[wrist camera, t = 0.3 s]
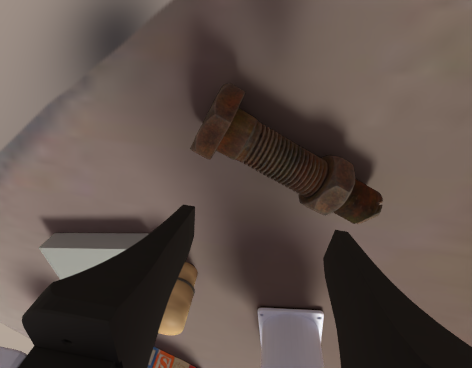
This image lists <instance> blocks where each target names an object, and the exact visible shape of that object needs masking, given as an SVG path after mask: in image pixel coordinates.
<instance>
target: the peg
mask: <svg viewBox="0 0 472 368" xmlns="http://www.w3.org/2000/svg"><path fill="white" fill-rule="evenodd" d="M196 278H197V270H196V268H195V267H194V266H193V265H191V264H190V263H187V262H185V263H184V265H183V268H182V270H181V272H180V274H179V277H178V279H177V281H176V283H175V286H174V288H173V290H172V293H171V295H170V298H169V300H168V303H167V306H166V309H165V312H164V315H163V318H162V322H161V325H160V328H159V331H158V333H160V334H164V335H177V334H180V333H181V332H182V331H183V329H184V325H185V322H186V319H187V315H188V312H189V308H190V305H191V302H192V298H193V296H194V292H195V290H194V284H195V281H196Z"/></svg>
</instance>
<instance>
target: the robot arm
mask: <svg viewBox="0 0 472 368" xmlns="http://www.w3.org/2000/svg"><path fill="white" fill-rule="evenodd" d="M194 221H195V207H194V206H188V205H182V206H181V207H180V208H179V209H178V210H177V211H176V212H175V213H173V214H172V215H171V216H170V217H169V218H168V219H167V220H166V221H164V222H163V223H162V224H161V225H160V226H159V227H157V228H156V229H155V230H154V231H152V232H151V233H150V234H148V235H147V236H146V237H144V238H143V239H141V240H140V241H139V242H137V243H136V244H134V245H133V246H131V247H129V248H128V249H126V250H125V251H123V252H121V253H119V254H117V255H116V256H114V257H112V258H110V259H108V260H106V261H104V262H102V263H100V264H98V265H96V266H94V267H91V268H89V269H87V270H84V271H82V272H80V273H77V274H74V275H72V276H69V277H66V278H64V279H61V280H58V281H55V282H53V283H51V284H50V285H49V286H48V287H47V288H46V290H45V291H44V292H43V293H42V294H41V295H40V296H39V297H38V299H37V300H36V301H35V302H34V303H33V304H32V306H31V307H30V308H29V309H28V310H27V311H26V312H25V314H24V315H23V317H22V323H23V326H24V329H25V330H26V332H27V334H28V335H29V337H30V339H31V341H32V342H33V344H34V347H33V349H32V350H31V351H30V352H29V354H28V355H26V354H25V353H23V352H21V351H18V350H14V349H9V348H4V347H0V368H147V367H148V364H149V360H150V357H151V354H152V351H153V347H154V344H155V341H156V337H157V334H158V331H159V328H160V325H161V322H162V318H163V315H164V312H165V309H166V306H167V303H168V300H169V298H170V295H171V293H172V290H173V288H174V286H175V283H176V281H177V279H178V277H179V274H180V272H181V270H182V268H183V265H184V263H185V261H186V259H187V256H188V254H189V251H190V248H191V245H192V241H193V238H194ZM323 260H324V271H325V279H326V283H327V288H328V292H329V297H330V301H331V305H332V309H333V314H334V318H335V323H336V328H337V335H338V342H339V350H340V359H341V368H472V347H471V346H469V345H468V344H466V343H465V342H464V341H462V340H461V339H459V338H458V337H457V336H455V335H454V334H452V333H451V332H450V331H448V330H447V329H446V328H444V327H443V326H442V325H440V324H439V323H438V322H436V321H435V320H434V319H433V318H431V317H430V316H429V315H428V314H426V313H425V312H424V311H423V310H422V309H420V308H419V307H418V306H417V305H416V304H414V303H413V302H412V301H411V300H410V299H409V298H408V297H407V296H406V295H405V294H403V293H402V292H401V291H400V290H399V289H398V288H397V287H396V286H395V285H394V284H393V283H392V282H391V281H390V280H389V279H388V278H387V277H386V276H385V275H384V274H383V273H382V272H381V270H380V269H379V268H378V267H377V266H376V265H375V264H374V263H373V261H372V260H371V259H370V258H369V257H368V256H367V255H366V253H365V252H364V251H363V250H362V249H361V247H360V246H359V245H358V244H357V243H356V241H355V240H354V239H353V238H352V237H351V235H350V234H349V233H348V232H345V231H339V230H335V232H334V234H333V236H332V239H331V241H330V244H329V246H328V248H327V251H326V253H325V256H324V258H323ZM323 319H324V313H323V312H322V311H320V310H301V309H281V308H258V321H259V330H260V340H261V368H324V362H323V355H322V349H321V336H322V328H323Z"/></svg>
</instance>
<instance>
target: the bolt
mask: <svg viewBox="0 0 472 368" xmlns="http://www.w3.org/2000/svg"><path fill="white" fill-rule="evenodd" d="M244 95H245V92H244V91H243V90H241V89H239V88H238V87H236V86H234V85H233V84H231V83H230V84H225V85H223V87H222V88H221V90H220V91H219V93H218V95H217V97H216V99H215V101H214V103H213V104H212V106H211V108H210V110H209V112H208V114H207V116H206V118H205V120H204V122H203V124H202V126H201V128H200V129H199V131H198V133H197V135H196V138H195V140H194V142H193V144H192V146H191V148H190V150H192V151H194V152H196V153H198V154H199V155H201V156H203V157H205V158H207V159H211V158H212V156H213V154H214V152H215V151H218V152H220V153H222V154H224V155H226V156H228V157H230V158H232V159H234V160H238V161H240V162H242V163H243V162H244V164H245V165H246V164H248V166H249V167H251V166H252V168H253V169H255V168H256V171H260V173H263V174H264V175H267V177H271V179H274V180H275V181H278V183H281V184H282V185H285V186H286V187H289V189H292V190H293V191H296V192H297V193H299V200H300V203H301V204H303V205H305V206H306V207H308V208H310V209H312V210H314V211H316V212H318V213H320V214H323V215H325V216H326V215H328V214H331V213H333V212H334V213H335V214H337V215H339V216H341V217H343V218H344V219H347V220H348V221H350V222H352V223H353V224H355V223H357V224H360V223H363V222H365V221H367V220H370V219H372V218H374V217H376V216H378V215H379V214H380V212H381V209H382V205H379V204H380V203H382V202H383V199H382V196H381V194H380V193H379V192H377V191H376V190H374V189H372V188H370V187H368V186H367V185H366V184H363V183H362V182H360V181H358V180H356V179H355V171H354V166H353V164H351V163H350V162H348V161H346V160H345V159H343V158H341V157H337V156H331V155H328V156H324V157H322V158H319V157H318V156H316V155H315V154H313V153H311V152H309V151H307V150H306V149H304V148H303V147H300V146H299V145H297V144H296V143H293V142H292V141H291V140H290V141H289V139H287V138H285V137H284V136H281V134H278V133H277V132H274V130H272V129H271V130H270V128H269V127H266V125H262V123H260V122H259V121H257V119H256V118H254V117H253V116H251V115H249V114H248V113H246V112H244V111H243V110H241V109H239V106H240V103H241V101H242V99H243V97H244Z"/></svg>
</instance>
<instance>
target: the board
mask: <svg viewBox="0 0 472 368" xmlns="http://www.w3.org/2000/svg"><path fill="white" fill-rule="evenodd" d="M148 234H150V233H54V234H53V235H52V236H51V237H50V238H49V239H48V240H47V241H46V242H45V243H44V244H42V245H41V246H40V247H39V249H40V250H41V252H42V253H43V255H44V256H45V258H46V259H47V261H48V262H49V264H50V265H51V267H52V268H53V269H54V271H55V272H56V274H57V275H58V277H59V278H60V280H61V279H64V278H66V277H69V276H72V275H74V274H77V273H80V272H82V271H84V270H87V269H89V268H91V267H94V266H96V265H98V264H100V263H102V262H104V261H106V260H108V259H110V258H112V257H114V256H116V255H117V254H119V253H121V252H123V251H125V250H126V249H128V248H129V247H131V246H133V245H134V244H136V243H137V242H139V241H140V240H141V239H143V238H144V237H146V236H147V235H148Z"/></svg>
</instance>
